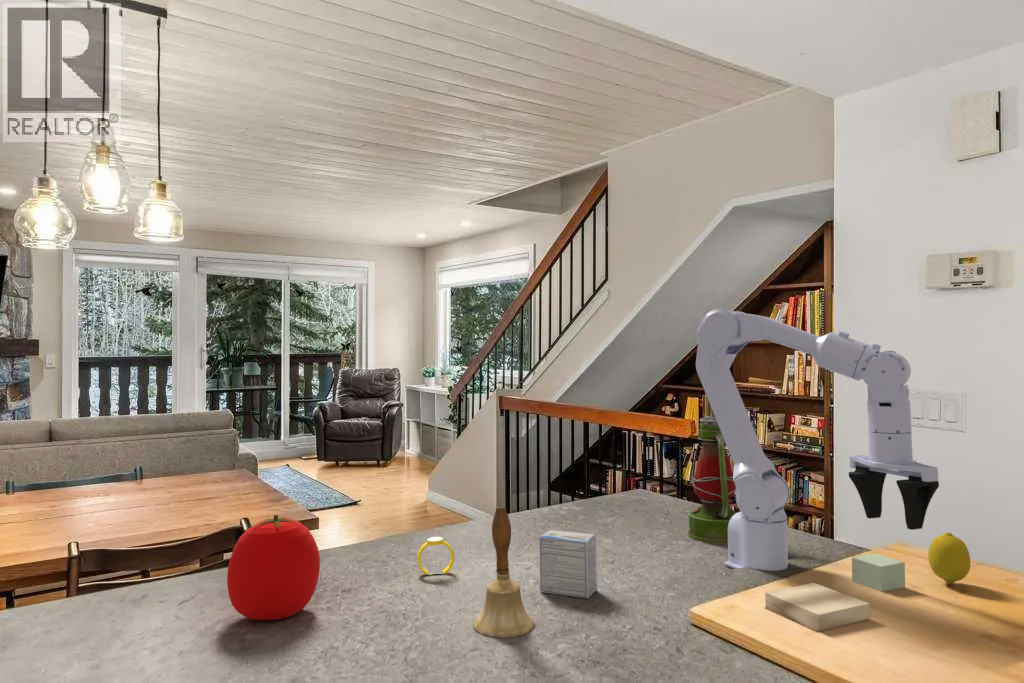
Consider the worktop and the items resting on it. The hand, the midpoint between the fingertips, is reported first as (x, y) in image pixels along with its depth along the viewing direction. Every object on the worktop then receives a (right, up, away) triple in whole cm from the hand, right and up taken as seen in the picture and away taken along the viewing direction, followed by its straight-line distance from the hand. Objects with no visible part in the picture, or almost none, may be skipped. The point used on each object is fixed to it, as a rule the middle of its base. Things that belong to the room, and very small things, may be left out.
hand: (893, 523), depth 103 cm
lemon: (+11, -11, +4) cm, 16 cm away
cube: (-2, -11, +1) cm, 11 cm away
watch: (-70, -12, +12) cm, 72 cm away
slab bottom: (-17, -11, -11) cm, 23 cm away
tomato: (-91, -12, -6) cm, 91 cm away
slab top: (-16, -9, -11) cm, 22 cm away
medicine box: (-48, -12, +3) cm, 50 cm away
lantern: (-17, -12, +33) cm, 39 cm away
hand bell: (-58, -11, -10) cm, 60 cm away
